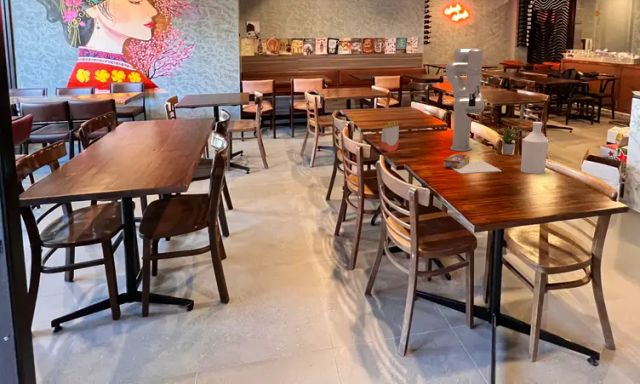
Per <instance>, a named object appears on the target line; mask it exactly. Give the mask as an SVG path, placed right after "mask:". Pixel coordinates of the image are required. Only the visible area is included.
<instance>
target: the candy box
mask: <svg viewBox="0 0 640 384" xmlns="http://www.w3.org/2000/svg"><path fill="white" fill-rule="evenodd" d="M469 162H470V155H468V154H467V155H466V154H459V153H458V154H457V153H453V154H452V155H450V156H448V157H445V158H444V159H443V167H444V168H450V167H451V168H450V169H452V168H461V167H463V166H464V165H466V164H468V163H469Z"/></svg>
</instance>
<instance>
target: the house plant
mask: <svg viewBox="0 0 640 384" xmlns="http://www.w3.org/2000/svg"><path fill="white" fill-rule="evenodd" d="M499 131H500V132H501V133H502V134H503V136H500V135H499V138H501V139H503V140H504V141H503V142H502V143H501V144H502V153H503V155H513V153H514V150H515V146H516V143H515V142H514V141H516V139H518V140H520V137H519V135H516V134H519V132H521V131H522V128H520V129H517V130H516V131H515V132H514V126H511V128H510V126H508V127H507V130H505V129H504V128H503V127H501V129H499Z"/></svg>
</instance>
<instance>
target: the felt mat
mask: <svg viewBox="0 0 640 384" xmlns="http://www.w3.org/2000/svg"><path fill="white" fill-rule="evenodd" d="M449 169H452V170H453V171H454V172H456V173H458V174H459V175H470V174H471V175H472V174H485V173H487V174H488V173H499V172H500V173H502V170H501V169H499V168H498V167H495V166H494V165H492V164H490V163H488V162H487V161H483V160H481V161H469V163H468V164H466V165H464V166H463V167H461V168H451V167H449Z"/></svg>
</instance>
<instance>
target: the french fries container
mask: <svg viewBox="0 0 640 384" xmlns="http://www.w3.org/2000/svg"><path fill="white" fill-rule="evenodd" d="M399 132H400V127H399V121H388V122H387V124H384V126H383V127H382V129H381V139H380V140H381V141H380V144H381V145H380V148H381V149H382V150H383V152H386V153H387V152H389V153H391V152H394V151H396V150H397V149H398V147H399Z"/></svg>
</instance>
